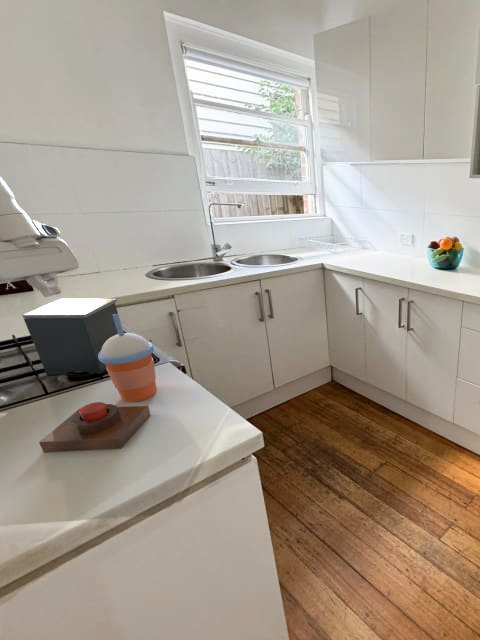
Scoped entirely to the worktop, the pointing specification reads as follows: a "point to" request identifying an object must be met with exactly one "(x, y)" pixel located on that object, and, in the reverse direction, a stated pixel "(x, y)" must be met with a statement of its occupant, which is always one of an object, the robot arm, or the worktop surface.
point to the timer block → (96, 430)
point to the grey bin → (72, 341)
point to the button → (93, 411)
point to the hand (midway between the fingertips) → (53, 295)
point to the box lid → (70, 308)
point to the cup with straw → (129, 364)
